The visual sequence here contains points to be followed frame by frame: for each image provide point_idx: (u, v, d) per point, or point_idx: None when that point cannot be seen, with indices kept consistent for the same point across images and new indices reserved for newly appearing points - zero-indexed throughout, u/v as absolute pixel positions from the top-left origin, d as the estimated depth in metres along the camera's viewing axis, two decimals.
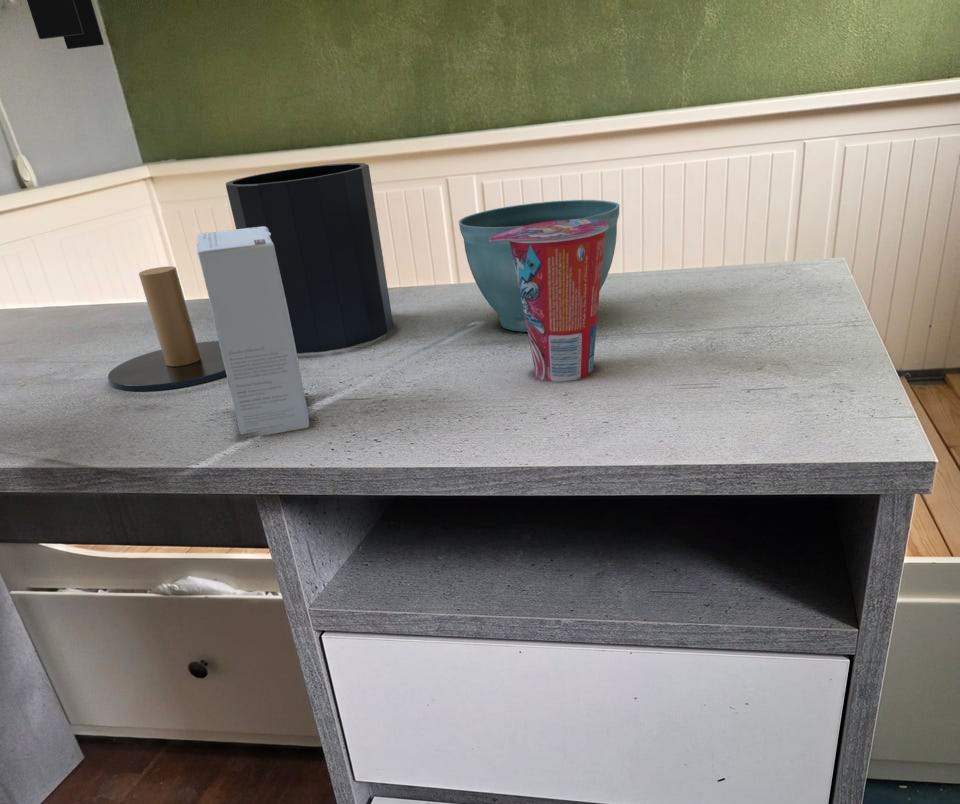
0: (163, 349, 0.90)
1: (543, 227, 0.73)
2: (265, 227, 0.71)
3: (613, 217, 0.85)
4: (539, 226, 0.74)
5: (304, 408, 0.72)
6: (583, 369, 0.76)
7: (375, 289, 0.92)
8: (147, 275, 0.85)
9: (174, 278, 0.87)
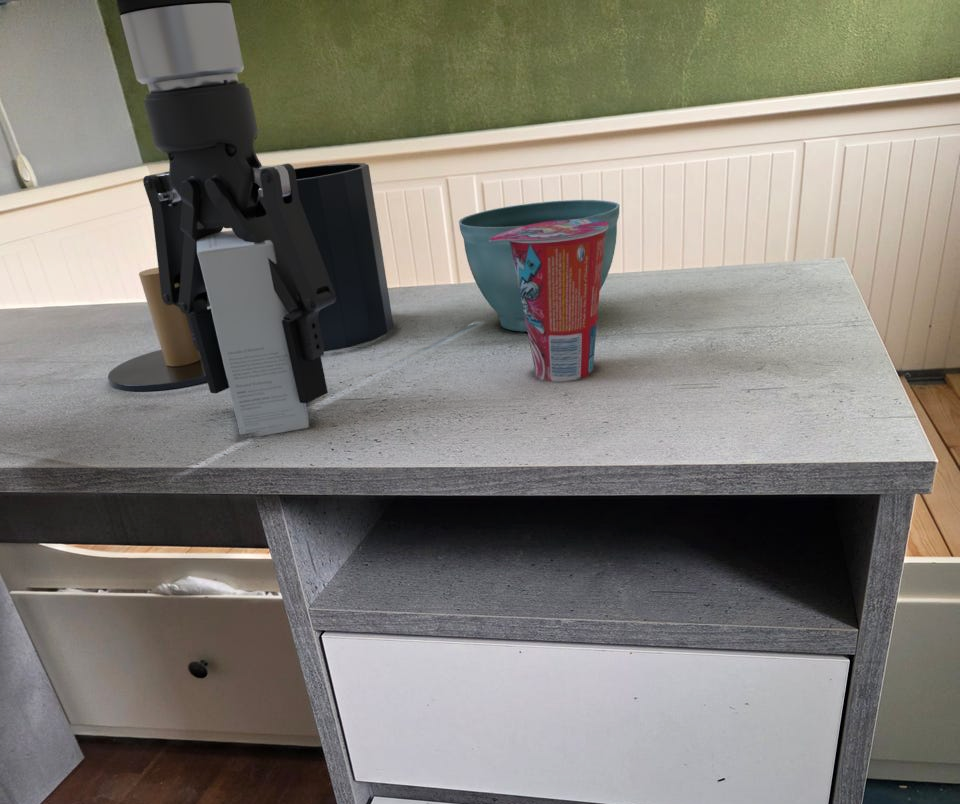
0: (163, 349, 0.90)
1: (543, 227, 0.73)
2: None
3: (613, 217, 0.85)
4: (539, 226, 0.74)
5: (304, 408, 0.72)
6: (583, 369, 0.76)
7: (375, 289, 0.92)
8: (147, 275, 0.85)
9: None
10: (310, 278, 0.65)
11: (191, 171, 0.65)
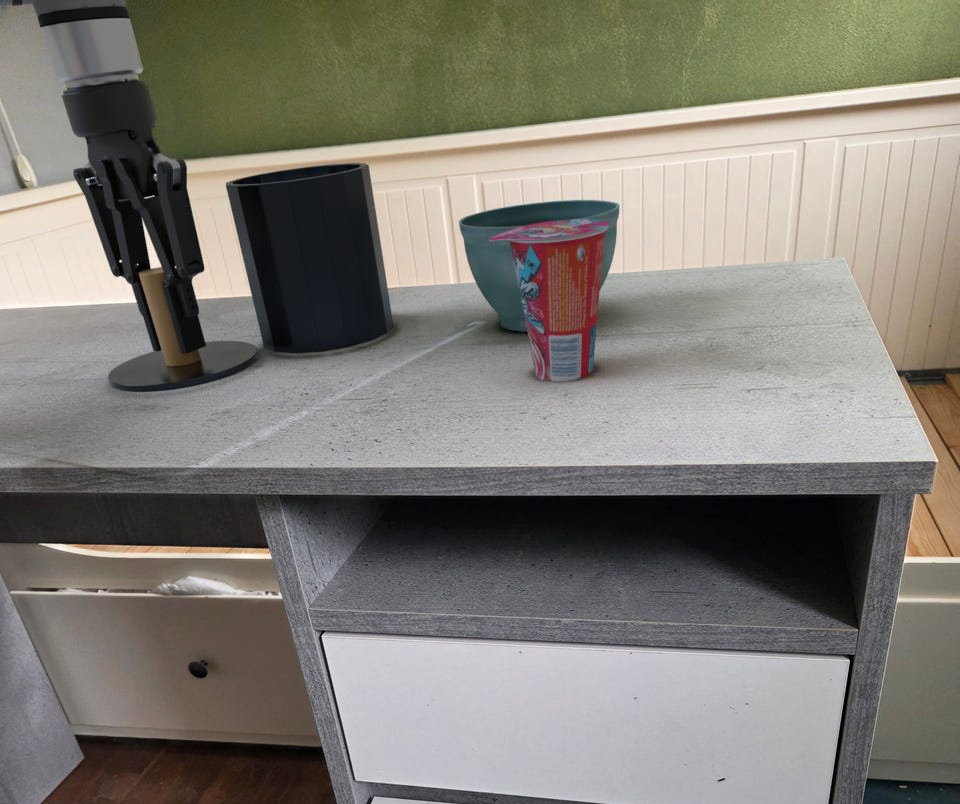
0: (163, 349, 0.90)
1: (543, 227, 0.73)
2: None
3: (613, 217, 0.85)
4: (539, 226, 0.74)
5: None
6: (583, 369, 0.76)
7: (375, 289, 0.92)
8: (147, 275, 0.85)
9: None
10: (185, 253, 0.83)
11: (104, 152, 0.81)
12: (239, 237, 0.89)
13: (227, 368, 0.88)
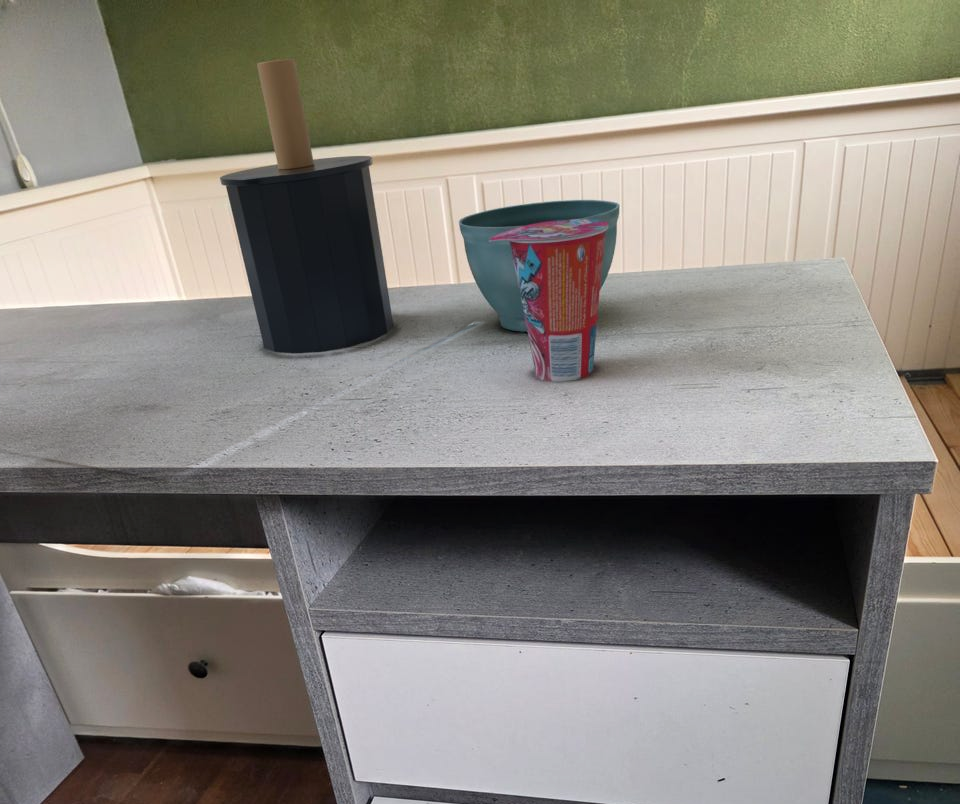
0: (278, 150, 0.87)
1: (543, 227, 0.73)
2: None
3: (613, 217, 0.85)
4: (539, 226, 0.74)
5: None
6: (583, 369, 0.76)
7: (375, 289, 0.92)
8: (267, 63, 0.82)
9: (293, 69, 0.84)
10: None
11: None
12: (239, 237, 0.89)
13: (347, 164, 0.85)
